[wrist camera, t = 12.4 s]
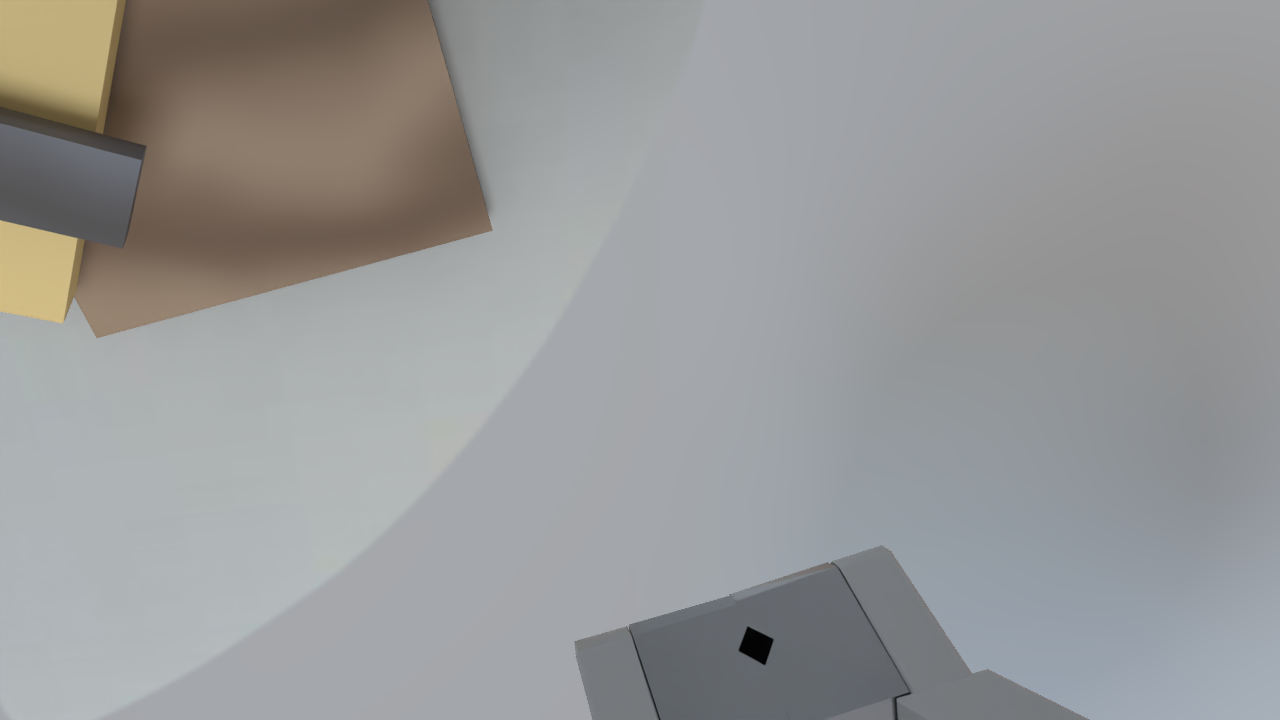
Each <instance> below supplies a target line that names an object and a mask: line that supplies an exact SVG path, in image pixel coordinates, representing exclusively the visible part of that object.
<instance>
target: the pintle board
mask: <svg viewBox="0 0 1280 720" xmlns="http://www.w3.org/2000/svg"><path fill="white" fill-rule="evenodd" d="M0 220H1V221H5V222H10V223H14V224H18V225H23V226H27V227H31V228H35V229H40V230H44V231H48V232H53V233H57V234H61V235H66V236H70V237H74V238H79V239H83V240H85V242H84V248H83V254H82V260H81V266H80V272H79V277H78V283H77V289H76V292H75V295H74V297H75V299H76V301H77V303H78V305H79V306H80V308H81V310H82V312H83V314H84V316H85V317H86V319H87V321H88V323H89V325H90V327H91V329H92V330H93V332H94V334H95V336H96V338H99V337H102V336H106V335H110V334H114V333H117V332H121V331H125V330H128V329H132V328H136V327H139V326H143V325H147V324H150V323H154V322H158V321H161V320H165V319H169V318H172V317H176V316H180V315H183V314H187V313H191V312H194V311H198V310H202V309H205V308H209V307H213V306H217V305H220V304H224V303H228V302H231V301H235V300H239V299H242V298H246V297H250V296H253V295H257V294H261V293H264V292H268V291H272V290H275V289H279V288H283V287H286V286H290V285H294V284H297V283H301V282H305V281H309V280H312V279H316V278H320V277H323V276H327V275H331V274H334V273H338V272H342V271H345V270H349V269H353V268H356V267H360V266H364V265H367V264H371V263H375V262H378V261H382V260H386V259H389V258H393V257H397V256H400V255H404V254H408V253H412V252H415V251H419V250H423V249H426V248H430V247H434V246H437V245H441V244H445V243H448V242H452V241H456V240H459V239H463V238H467V237H470V236H474V235H478V234H481V233H485V232H489V231H492V227H491V223H490V219H489V216H488V212H487V209H486V205H485V202H484V198H483V195H482V191H481V188H480V184H479V180H478V177H477V173H476V170H475V166H474V163H473V159H472V156H471V152H470V149H469V145H468V141H467V138H466V134H465V131H464V127H463V124H462V120H461V117H460V113H459V110H458V106H457V102H456V99H455V95H454V92H453V88H452V85H451V81H450V78H449V74H448V71H447V67H446V63H445V60H444V56H443V53H442V49H441V46H440V42H439V39H438V35H437V32H436V28H435V24H434V21H433V17H432V14H431V10H430V7H429V3H428V0H126V2H125V8H124V14H123V20H122V26H121V32H120V37H119V43H118V49H117V55H116V61H115V67H114V73H113V78H112V84H111V90H110V96H109V102H108V108H107V114H106V119H105V125H104V131H103V134H100V133H97V132H93V131H89V130H85V129H82V128H78V127H74V126H70V125H67V124H63V123H59V122H55V121H52V120H48V119H44V118H41V117H37V116H33V115H29V114H26V113H22V112H18V111H14V110H11V109H7V108H3V107H0Z"/></svg>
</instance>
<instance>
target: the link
mask: <svg viewBox="0 0 1280 720" xmlns="http://www.w3.org/2000/svg"><path fill="white" fill-rule="evenodd" d="M125 2H126V0H0V107H3V108H7V109H11V110H14V111H18V112H22V113H26V114H29V115H33V116H37V117H41V118H44V119H48V120H52V121H55V122H59V123H63V124H67V125H70V126H74V127H78V128H82V129H85V130H89V131H93V132H97V133H100V134H103V131H104V125H105V119H106V114H107V108H108V102H109V96H110V90H111V84H112V78H113V73H114V67H115V61H116V55H117V49H118V43H119V37H120V32H121V26H122V20H123V14H124V8H125ZM84 242H85V240H83V239H79V238H74V237H70V236H66V235H61V234H57V233H53V232H48V231H44V230H40V229H35V228H31V227H27V226H23V225H18V224H14V223H10V222H5V221H1V220H0V311H1V312H6V313H12V314H17V315H22V316H28V317H33V318H38V319H43V320H49V321H54V322H59V323H64V320H65V318H66V315H67V313H68V310H69V308H70V305H71V302H72V300H73V297H74V295H75V292H76V289H77V283H78V277H79V272H80V266H81V260H82V254H83V248H84Z"/></svg>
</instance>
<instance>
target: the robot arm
mask: <svg viewBox="0 0 1280 720" xmlns="http://www.w3.org/2000/svg"><path fill="white" fill-rule="evenodd" d="M629 631H630V632H629ZM575 650H576V658H577V662H578V666H579V670H580V673H581V677H582V681H583V685H584V689H585V693H586V696H587V700H588V704H589V708H590V712H591V716H592V719H593V720H1089V719H1087V718H1085V717H1083V716H1081V715H1079V714H1077V713H1075V712H1073V711H1071V710H1069V709H1067V708H1065V707H1063V706H1061V705H1059V704H1057V703H1055V702H1053V701H1051V700H1049V699H1047V698H1045V697H1043V696H1041V695H1039V694H1037V693H1035V692H1033V691H1030V690H1028V689H1027V688H1025V687H1023V686H1020V685H1018V684H1017V683H1015V682H1013V681H1011V680H1009V679H1007V678H1004V677H1003V676H1001V675H998V674H996V673H994V672H992V671H990V670H988V669H987V670H984V671H980V672H977V673H973V674H972V673H971V671H970V670H969V668H968V667H967V665H966V664H965V662H964V661H963V659H962V658H961V656H960V655H959V653H958V652H957V650H956V649H955V647H954V646H953V644H952V643H951V641H950V640H949V638H948V637H947V635H946V634H945V632H944V630H943V629H942V628H941V626H940V625H939V623H938V622H937V620H936V618H935V617H934V615H933V614H932V612H931V611H930V609H929V608H928V606H927V605H926V603H925V602H924V600H923V599H922V597H921V596H920V594H919V593H918V591H917V590H916V588H915V587H914V585H913V584H912V582H911V581H910V579H909V578H908V576H907V575H906V573H905V572H904V570H903V569H902V567H901V566H900V564H899V563H898V561H897V560H896V558H895V557H894V555H893V553H892V552H891V551H889V550H888V549H887V548H885V547H884V546H878V547H875V548H872V549H869V550H866V551H863V552H860V553H857V554H853V555H850V556H847V557H844V558H841V559H838V560H835V561H832V562H831V564H830V563H824V564H821V565H818V566H815V567H812V568H809V569H806V570H803V571H800V572H797V573H794V574H791V575H788V576H784V577H781V578H778V579H775V580H772V581H769V582H766V583H763V584H760V585H757V586H754V587H751V588H748V589H745V590H742V591H739V592H736V593H733V594H730V595H729V596H727V597H724V598H720V599H717V600H713V601H710V602H706V603H703V604H699V605H696V606H692V607H689V608H686V609H682V610H679V611H675V612H672V613H668V614H665V615H661V616H658V617H654V618H651V619H648V620H644V621H641V622H637V623H633V624H630V625H629V630H628V627H627V626H626V627H623V628H619V629H616V630H612V631H609V632H606V633H602V634H599V635H596V636H592V637H589V638H585V639H582V640H578V641H575Z"/></svg>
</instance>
